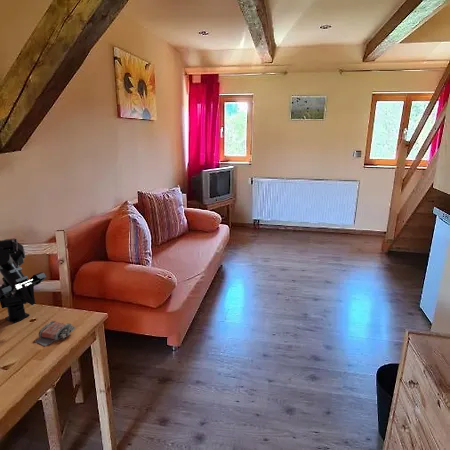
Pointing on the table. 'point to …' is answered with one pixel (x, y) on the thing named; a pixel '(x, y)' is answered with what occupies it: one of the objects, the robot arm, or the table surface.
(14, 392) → the table surface
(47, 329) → the lighter
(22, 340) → the table surface
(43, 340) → the pad
